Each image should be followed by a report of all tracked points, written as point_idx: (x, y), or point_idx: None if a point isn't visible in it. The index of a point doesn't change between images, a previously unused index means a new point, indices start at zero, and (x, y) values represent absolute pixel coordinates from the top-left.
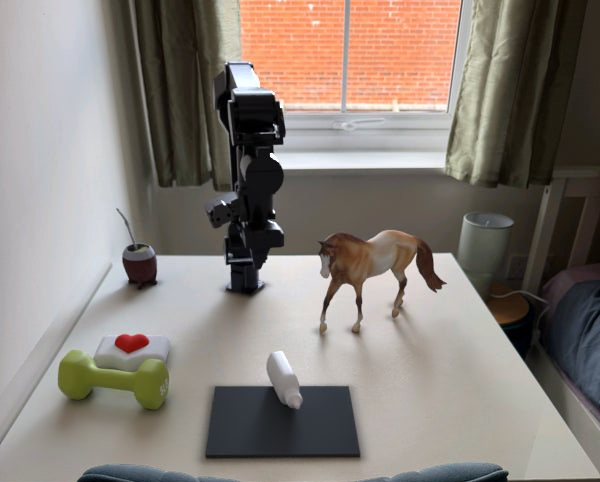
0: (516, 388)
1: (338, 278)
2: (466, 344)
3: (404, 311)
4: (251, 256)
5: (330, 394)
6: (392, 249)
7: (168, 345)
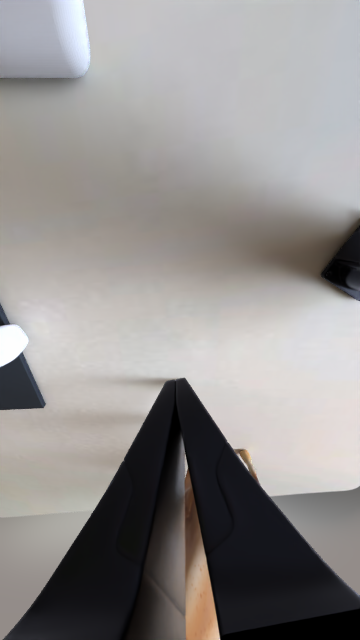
0: (90, 503)
1: (189, 493)
2: None
3: None
4: (199, 408)
5: (15, 391)
6: None
7: (44, 66)
